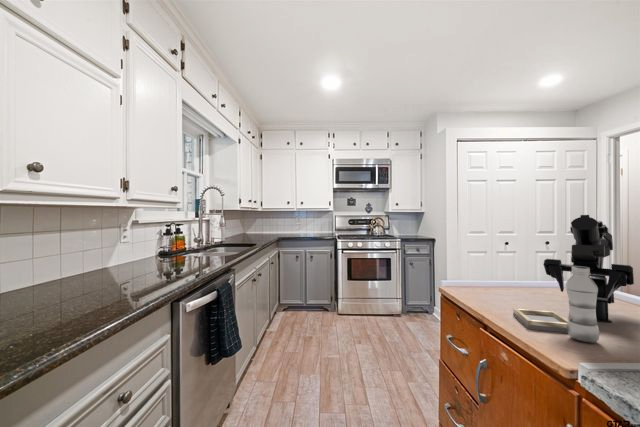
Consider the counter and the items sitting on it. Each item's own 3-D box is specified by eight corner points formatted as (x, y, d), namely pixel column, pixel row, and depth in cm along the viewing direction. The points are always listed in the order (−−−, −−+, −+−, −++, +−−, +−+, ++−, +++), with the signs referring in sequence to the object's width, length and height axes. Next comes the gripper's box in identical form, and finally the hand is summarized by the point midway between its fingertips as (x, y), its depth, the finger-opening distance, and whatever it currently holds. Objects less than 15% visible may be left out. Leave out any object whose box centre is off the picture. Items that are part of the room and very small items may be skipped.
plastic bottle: (560, 335, 76) (557, 265, 77) (581, 334, 77) (579, 265, 77) (584, 346, 70) (581, 270, 70) (607, 345, 71) (604, 269, 71)
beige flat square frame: (555, 318, 89) (555, 311, 89) (576, 333, 78) (576, 325, 78) (513, 315, 93) (513, 308, 93) (527, 328, 82) (527, 320, 82)
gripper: (543, 233, 87) (536, 272, 80) (631, 235, 73) (632, 282, 65) (550, 255, 92) (543, 293, 85) (633, 261, 78) (634, 308, 70)
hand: (583, 294), depth 76 cm, fingers open, 9 cm apart
